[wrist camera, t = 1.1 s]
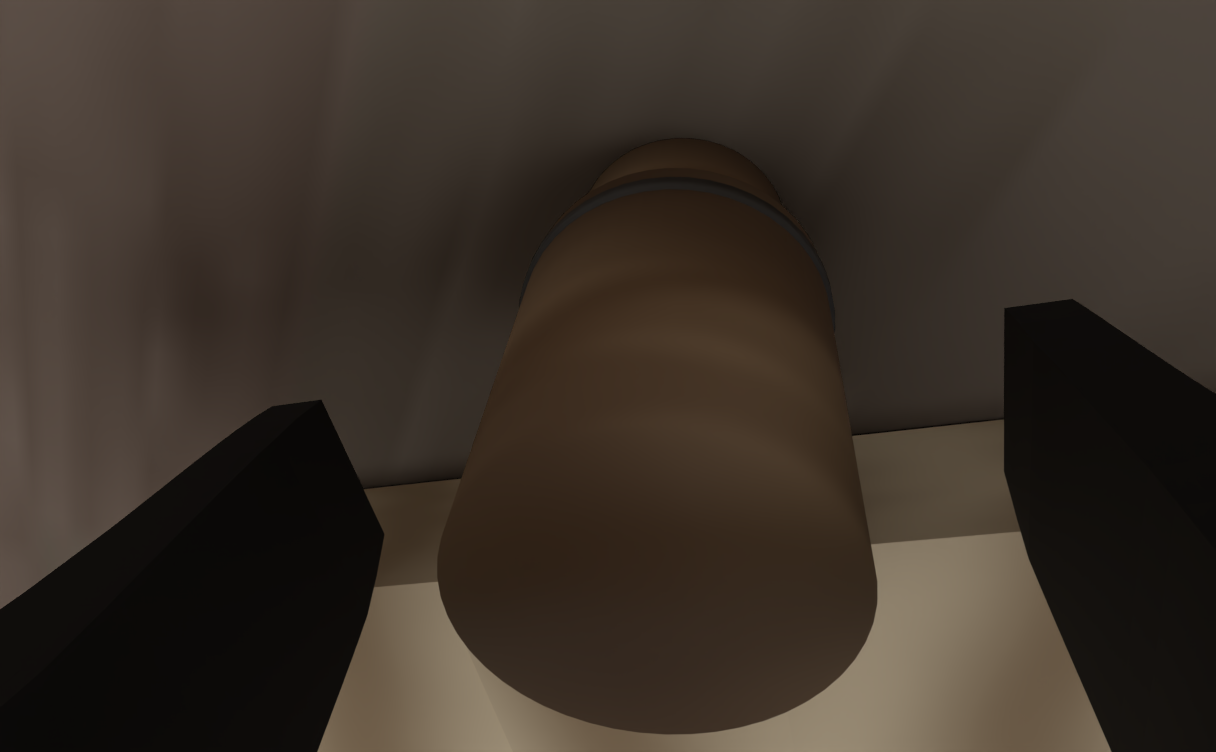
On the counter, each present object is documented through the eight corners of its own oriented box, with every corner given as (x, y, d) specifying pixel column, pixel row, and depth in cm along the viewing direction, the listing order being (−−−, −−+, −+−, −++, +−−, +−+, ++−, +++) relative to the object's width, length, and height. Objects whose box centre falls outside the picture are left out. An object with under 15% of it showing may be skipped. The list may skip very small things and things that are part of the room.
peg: (802, 81, 13) (865, 391, 7) (830, 330, 15) (896, 727, 9) (518, 133, 13) (367, 450, 8) (583, 363, 16) (501, 746, 10)
